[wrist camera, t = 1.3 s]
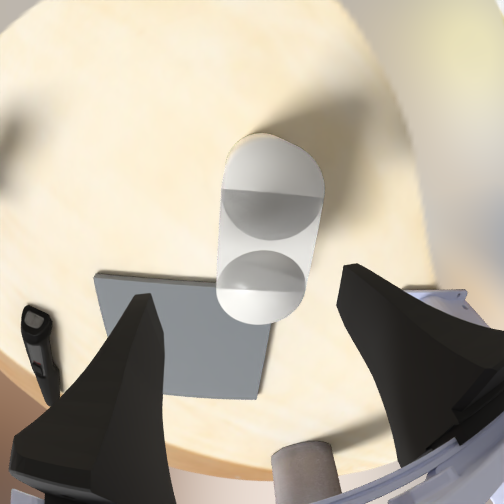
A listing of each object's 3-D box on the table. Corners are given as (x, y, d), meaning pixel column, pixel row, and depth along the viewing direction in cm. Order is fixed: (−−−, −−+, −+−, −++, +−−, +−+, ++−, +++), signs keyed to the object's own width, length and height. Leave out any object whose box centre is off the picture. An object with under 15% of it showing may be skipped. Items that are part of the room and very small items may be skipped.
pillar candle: (334, 453, 38) (352, 526, 25) (279, 467, 39) (289, 540, 26) (325, 434, 34) (347, 523, 20) (261, 450, 35) (270, 538, 22)
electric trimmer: (44, 383, 28) (36, 401, 25) (25, 301, 21) (10, 320, 19) (67, 394, 29) (60, 412, 26) (54, 314, 22) (40, 336, 19)
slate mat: (275, 285, 21) (276, 290, 21) (256, 395, 28) (256, 399, 27) (96, 273, 20) (93, 277, 20) (125, 384, 26) (124, 388, 26)
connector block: (301, 137, 17) (331, 148, 11) (278, 291, 22) (291, 347, 16) (228, 130, 16) (225, 136, 11) (218, 288, 21) (214, 345, 16)
